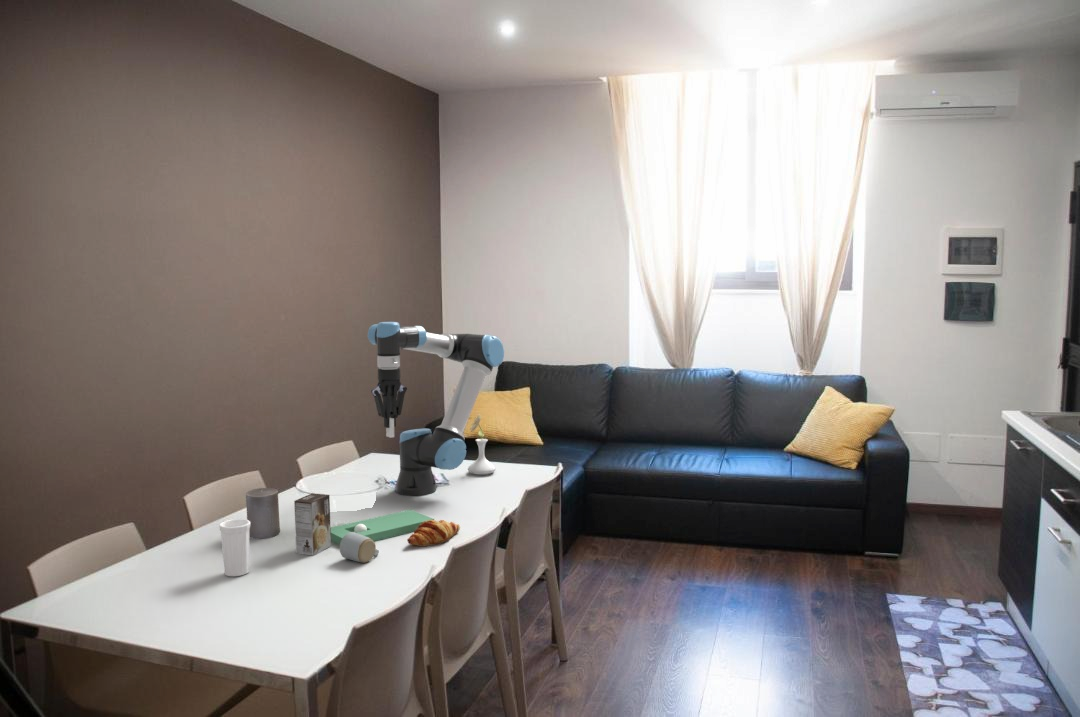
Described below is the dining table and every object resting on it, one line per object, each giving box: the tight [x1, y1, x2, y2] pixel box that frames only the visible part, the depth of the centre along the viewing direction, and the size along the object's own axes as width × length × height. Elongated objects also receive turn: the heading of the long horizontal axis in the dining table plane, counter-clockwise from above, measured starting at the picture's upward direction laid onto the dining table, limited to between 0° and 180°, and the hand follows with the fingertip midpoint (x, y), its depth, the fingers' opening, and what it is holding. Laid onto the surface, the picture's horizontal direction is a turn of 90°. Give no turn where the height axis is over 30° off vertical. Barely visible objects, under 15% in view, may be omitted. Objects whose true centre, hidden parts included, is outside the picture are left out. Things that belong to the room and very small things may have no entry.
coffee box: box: [293, 492, 332, 556], centre depth 254 cm, size 9×6×16 cm
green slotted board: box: [330, 509, 435, 546], centre depth 272 cm, size 32×14×2 cm, turn 132°
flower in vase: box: [467, 413, 496, 476], centre depth 345 cm, size 13×11×25 cm
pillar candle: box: [245, 487, 281, 540], centre depth 268 cm, size 10×10×15 cm
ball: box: [354, 524, 367, 533], centre depth 267 cm, size 4×4×4 cm
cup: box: [218, 518, 251, 577], centre depth 234 cm, size 8×8×14 cm
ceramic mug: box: [339, 532, 380, 564], centre depth 247 cm, size 11×8×8 cm
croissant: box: [406, 519, 461, 547], centre depth 264 cm, size 21×10×8 cm, turn 141°
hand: (390, 436), depth 290 cm, fingers closed
